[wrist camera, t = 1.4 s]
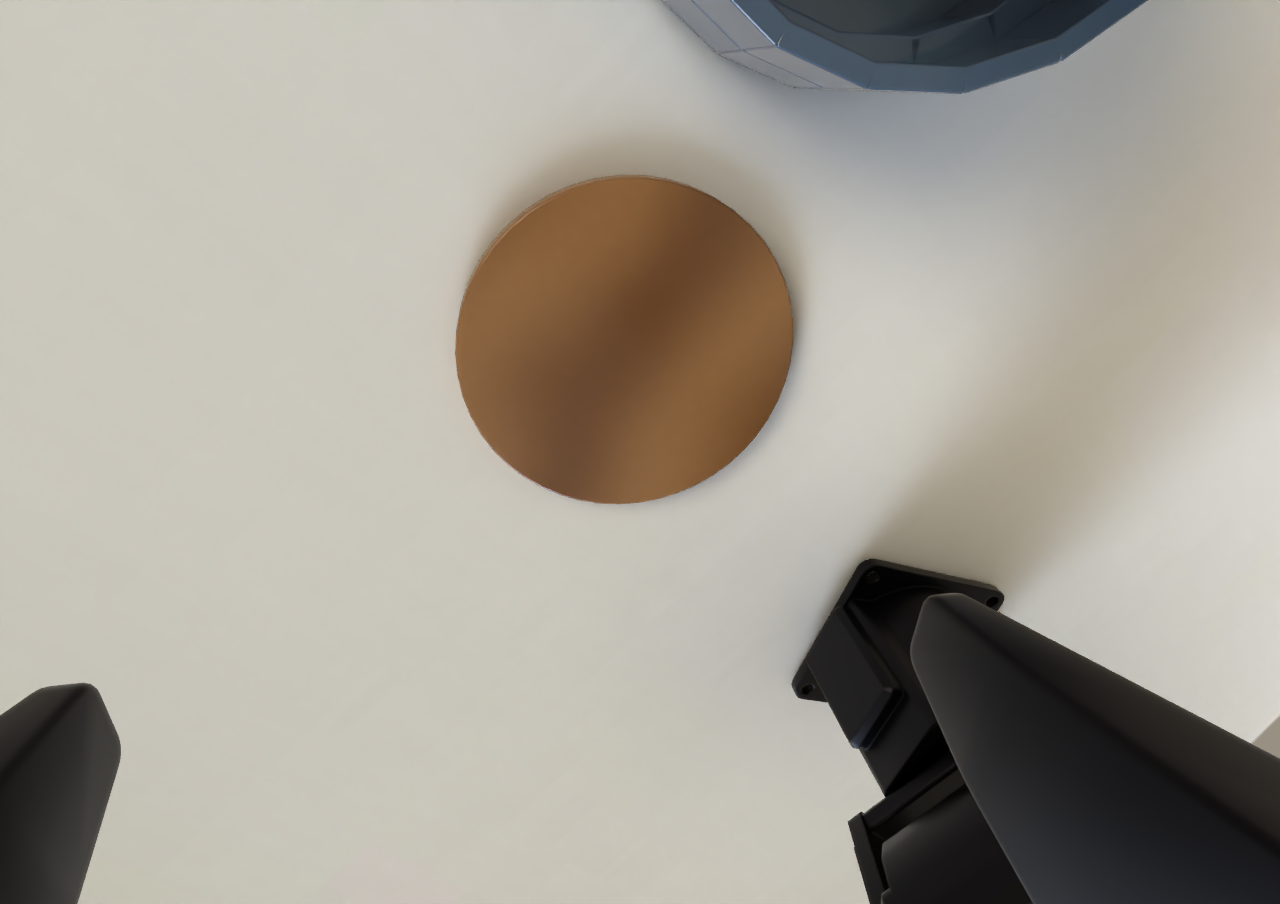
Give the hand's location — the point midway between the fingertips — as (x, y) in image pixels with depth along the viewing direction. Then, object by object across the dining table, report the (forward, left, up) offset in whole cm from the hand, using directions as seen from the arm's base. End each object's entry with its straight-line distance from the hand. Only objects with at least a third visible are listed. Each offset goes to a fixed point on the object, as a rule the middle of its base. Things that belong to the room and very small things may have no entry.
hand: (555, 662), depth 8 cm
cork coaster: (-3, 0, -13) cm, 14 cm away
